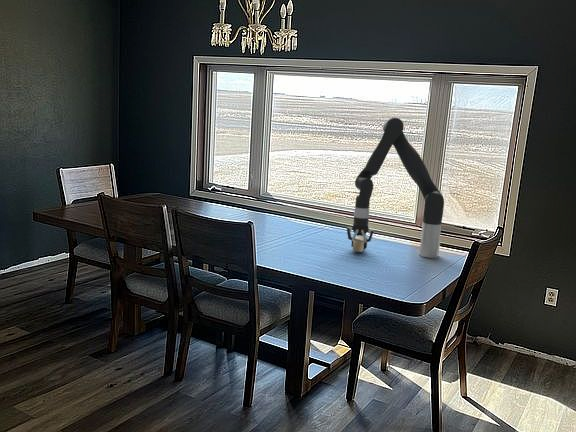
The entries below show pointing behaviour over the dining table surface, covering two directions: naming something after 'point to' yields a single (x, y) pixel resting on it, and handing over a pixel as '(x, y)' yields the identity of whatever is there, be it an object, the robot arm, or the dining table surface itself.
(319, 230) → the dining table surface
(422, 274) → the dining table surface
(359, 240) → the maple block
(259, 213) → the dining table surface
